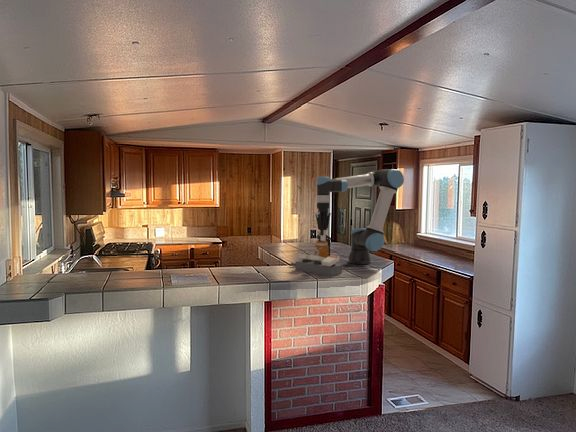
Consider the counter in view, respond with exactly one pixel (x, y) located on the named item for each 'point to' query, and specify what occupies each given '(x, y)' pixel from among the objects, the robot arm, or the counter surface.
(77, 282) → the counter surface
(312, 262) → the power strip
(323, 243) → the canister
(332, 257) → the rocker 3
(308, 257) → the rocker
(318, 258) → the rocker
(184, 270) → the counter surface
